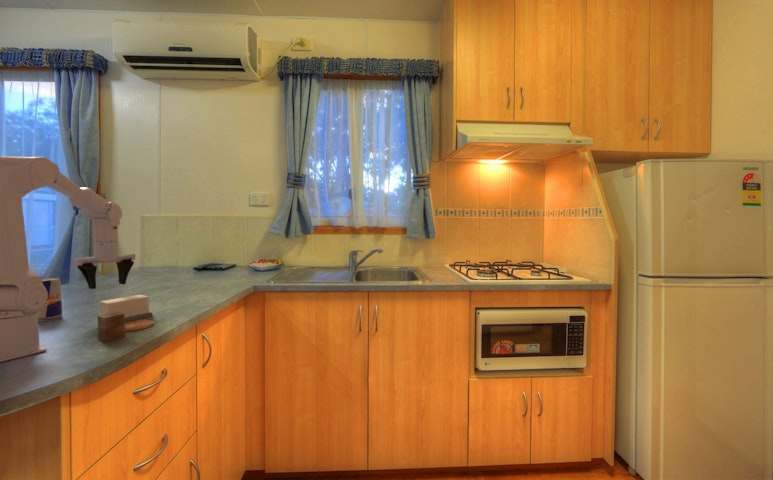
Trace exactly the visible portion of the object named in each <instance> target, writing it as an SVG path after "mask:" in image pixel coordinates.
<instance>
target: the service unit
mask: <svg viewBox="0 0 773 480" xmlns="http://www.w3.org/2000/svg"><path fill="white" fill-rule="evenodd" d="M113 312H120V313H123V314H124V321H125V323H127V322H132V321H136V320H140V319H144V318H148V317H152V316H153V312H152V311H150V301H149V296H148V295H144V294H137V295H130V296H124V297H118V298H113V299H111V298H110V299H107V300H100V315H103V314H108V313H113Z"/></svg>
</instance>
